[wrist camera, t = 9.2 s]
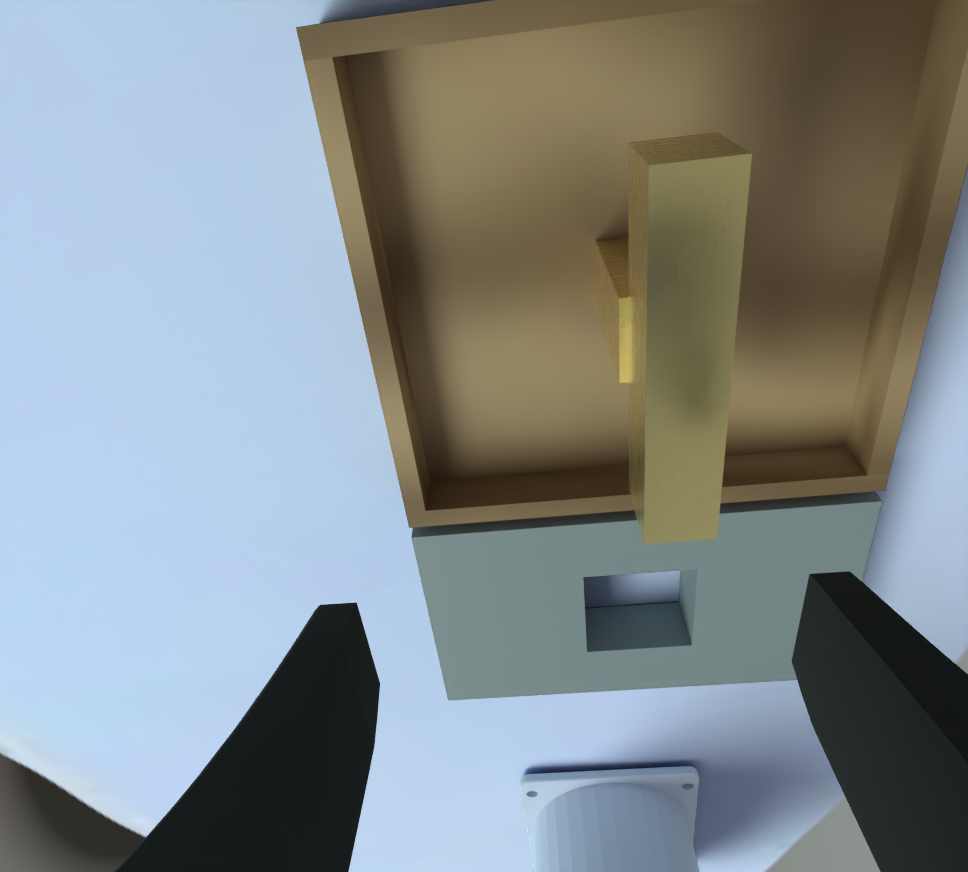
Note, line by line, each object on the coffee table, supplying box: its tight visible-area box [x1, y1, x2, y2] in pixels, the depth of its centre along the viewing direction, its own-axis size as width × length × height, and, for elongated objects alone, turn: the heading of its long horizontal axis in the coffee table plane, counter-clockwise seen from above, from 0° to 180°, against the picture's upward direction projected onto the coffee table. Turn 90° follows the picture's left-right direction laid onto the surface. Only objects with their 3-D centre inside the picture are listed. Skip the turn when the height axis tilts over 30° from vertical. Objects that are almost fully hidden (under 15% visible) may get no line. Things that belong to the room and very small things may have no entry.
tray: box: [296, 0, 968, 528], centre depth 18 cm, size 13×14×2 cm
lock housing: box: [412, 491, 882, 700], centre depth 24 cm, size 8×14×2 cm, turn 97°
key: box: [595, 132, 752, 544], centre depth 15 cm, size 2×8×6 cm, turn 7°
